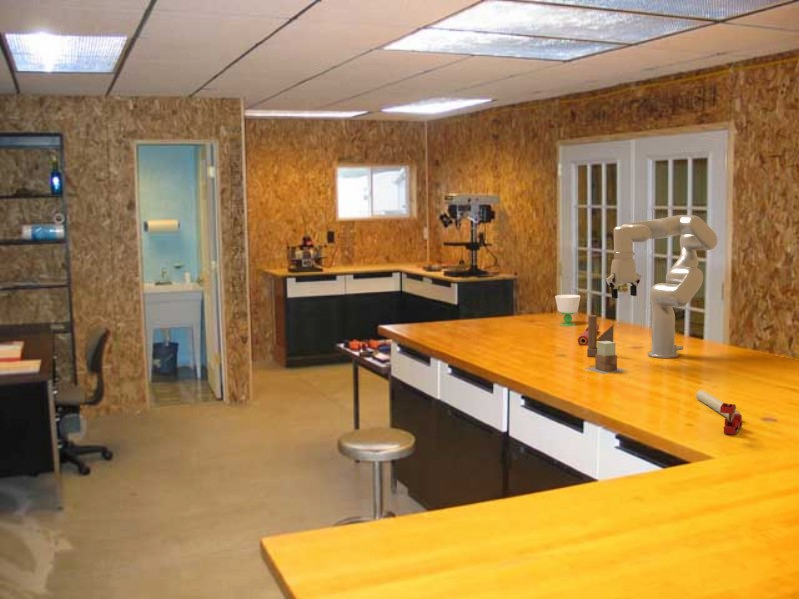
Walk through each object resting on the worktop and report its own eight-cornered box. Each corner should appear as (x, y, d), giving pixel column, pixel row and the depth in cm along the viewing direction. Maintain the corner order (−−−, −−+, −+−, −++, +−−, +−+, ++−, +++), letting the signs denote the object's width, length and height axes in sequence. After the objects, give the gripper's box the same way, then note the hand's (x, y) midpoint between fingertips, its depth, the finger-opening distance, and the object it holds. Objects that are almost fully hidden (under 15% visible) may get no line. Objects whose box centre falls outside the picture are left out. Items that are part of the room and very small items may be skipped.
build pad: (609, 367, 339) (609, 365, 339) (627, 372, 328) (627, 370, 328) (584, 370, 335) (584, 368, 335) (602, 375, 324) (602, 373, 324)
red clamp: (742, 427, 248) (743, 396, 246) (731, 439, 236) (732, 406, 235) (730, 426, 250) (731, 394, 248) (719, 437, 238) (720, 404, 237)
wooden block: (612, 357, 359) (612, 316, 357) (587, 356, 363) (587, 316, 361) (613, 356, 363) (613, 315, 360) (588, 355, 367) (588, 314, 365)
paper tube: (732, 424, 253) (732, 412, 253) (695, 400, 283) (695, 390, 282) (744, 423, 253) (744, 411, 253) (706, 400, 283) (706, 389, 282)
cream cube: (607, 353, 334) (607, 340, 334) (615, 355, 330) (615, 342, 329) (597, 354, 332) (597, 341, 332) (605, 356, 328) (605, 343, 327)
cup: (555, 326, 450) (555, 297, 448) (554, 322, 463) (554, 294, 461) (581, 326, 447) (581, 297, 445) (579, 322, 461) (580, 294, 459)
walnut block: (607, 367, 336) (607, 352, 335) (616, 370, 330) (617, 355, 329) (595, 368, 333) (595, 354, 333) (604, 371, 328) (604, 356, 327)
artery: (588, 346, 390) (588, 335, 390) (577, 345, 392) (577, 335, 391) (598, 332, 429) (598, 322, 429) (589, 332, 431) (589, 322, 431)
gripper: (634, 253, 351) (634, 294, 353) (600, 257, 344) (601, 298, 346) (646, 254, 344) (646, 295, 346) (612, 258, 337) (613, 300, 339)
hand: (624, 296), depth 346 cm, fingers open, 9 cm apart
